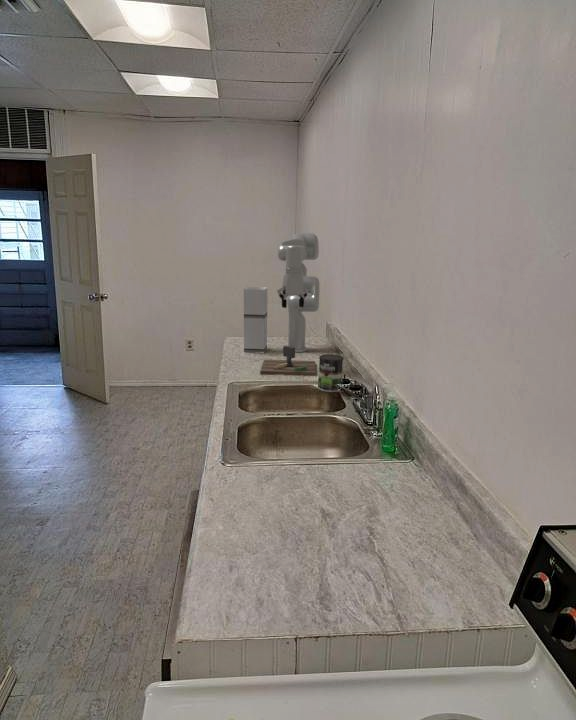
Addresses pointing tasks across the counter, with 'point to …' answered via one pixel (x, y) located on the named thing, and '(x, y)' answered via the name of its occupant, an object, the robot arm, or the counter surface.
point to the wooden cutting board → (289, 367)
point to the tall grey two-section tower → (255, 319)
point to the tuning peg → (288, 353)
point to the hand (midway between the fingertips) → (292, 307)
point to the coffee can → (330, 372)
